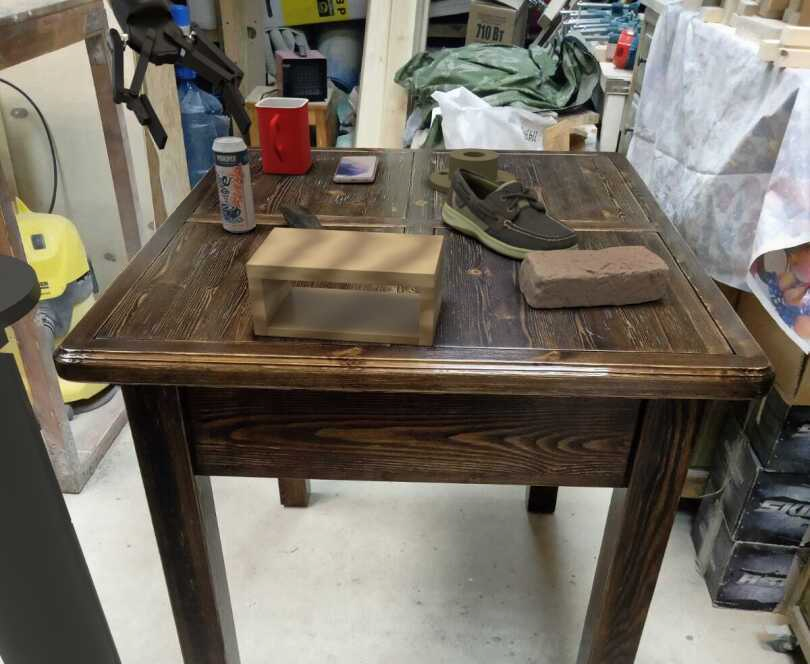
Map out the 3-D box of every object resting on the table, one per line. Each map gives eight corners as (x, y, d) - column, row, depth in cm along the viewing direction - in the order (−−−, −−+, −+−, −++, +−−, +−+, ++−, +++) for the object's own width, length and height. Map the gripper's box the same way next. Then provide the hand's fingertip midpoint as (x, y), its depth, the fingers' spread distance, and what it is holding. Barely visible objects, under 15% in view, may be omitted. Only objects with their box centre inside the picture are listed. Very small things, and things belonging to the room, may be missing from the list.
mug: (271, 161, 142) (265, 97, 136) (314, 163, 142) (310, 98, 135) (254, 179, 133) (246, 111, 126) (300, 181, 133) (294, 112, 126)
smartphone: (332, 178, 131) (341, 156, 142) (333, 184, 131) (341, 161, 143) (374, 177, 131) (379, 155, 142) (374, 183, 131) (379, 161, 143)
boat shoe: (553, 273, 100) (561, 208, 95) (417, 229, 114) (418, 169, 108) (595, 255, 106) (605, 192, 100) (460, 214, 119) (463, 157, 114)
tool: (366, 270, 104) (368, 248, 102) (315, 276, 101) (316, 253, 99) (305, 212, 116) (306, 192, 114) (257, 216, 113) (257, 194, 111)
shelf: (254, 335, 85) (245, 264, 80) (281, 293, 94) (274, 227, 89) (432, 346, 84) (434, 273, 78) (441, 302, 93) (444, 235, 88)
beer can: (217, 231, 112) (203, 141, 105) (236, 222, 115) (225, 134, 108) (243, 236, 111) (231, 145, 103) (262, 226, 114) (253, 138, 106)
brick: (532, 311, 91) (537, 272, 88) (515, 284, 97) (520, 247, 94) (664, 305, 93) (674, 267, 90) (639, 279, 99) (647, 243, 96)
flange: (495, 170, 121) (532, 150, 131) (414, 158, 127) (455, 139, 137) (493, 201, 124) (529, 179, 134) (413, 187, 130) (453, 168, 140)
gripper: (206, 15, 118) (271, 139, 119) (47, 27, 105) (121, 167, 106) (219, -26, 111) (287, 106, 112) (51, -18, 99) (129, 131, 100)
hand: (206, 136), depth 109 cm, fingers open, 13 cm apart
